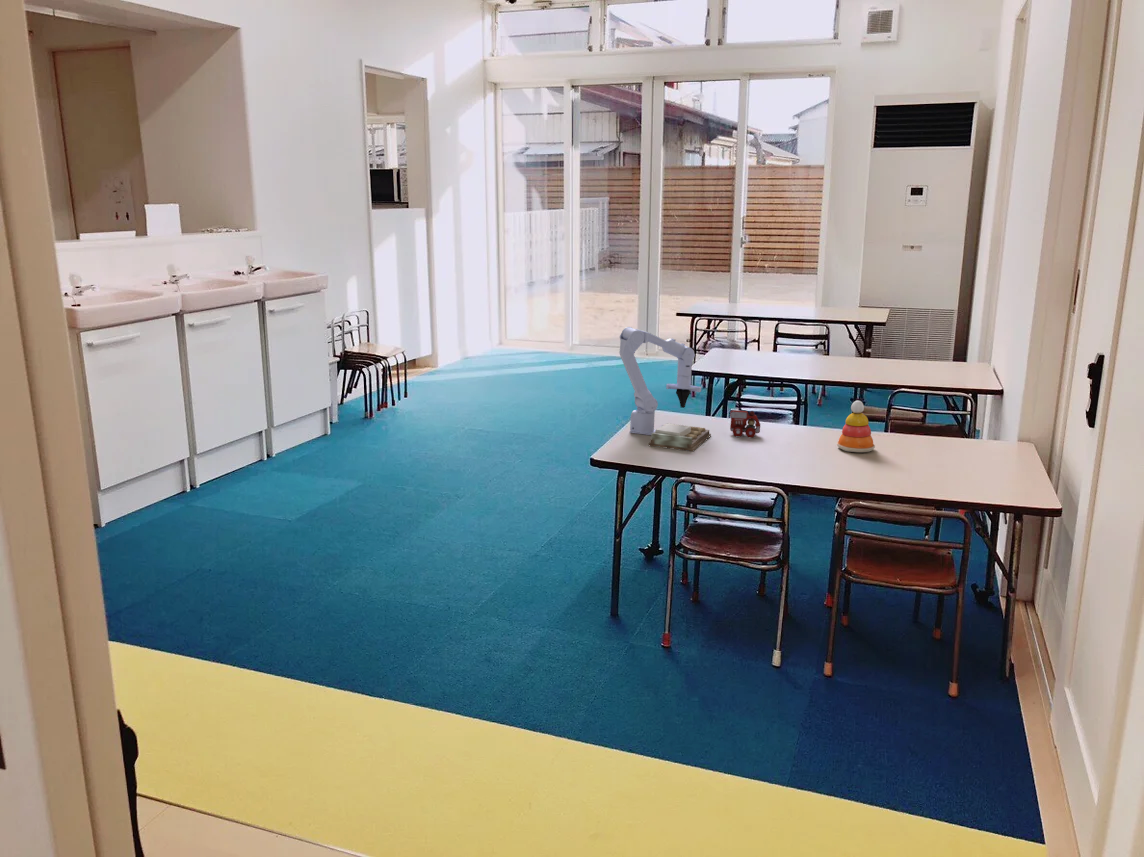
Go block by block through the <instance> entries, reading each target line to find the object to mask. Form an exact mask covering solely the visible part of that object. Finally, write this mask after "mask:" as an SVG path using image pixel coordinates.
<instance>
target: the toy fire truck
mask: <svg viewBox="0 0 1144 857" xmlns="http://www.w3.org/2000/svg"><path fill="white" fill-rule="evenodd" d="M729 417H730V424H729V425H730V428H729V429H730V432H732V434H733V436H734V437H736V436H740V437H742V436H743V434H744V433H745V436H746V437H747V438H749V437H752V438H754V437H756V434H759V433H761V423H760V420H759V418H758V416H757V415H756V414H755V411H754V410H750V411H749V412H748V411H746V410H734V409H733V410H732V409H731V410H730V414H729Z"/></svg>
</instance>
